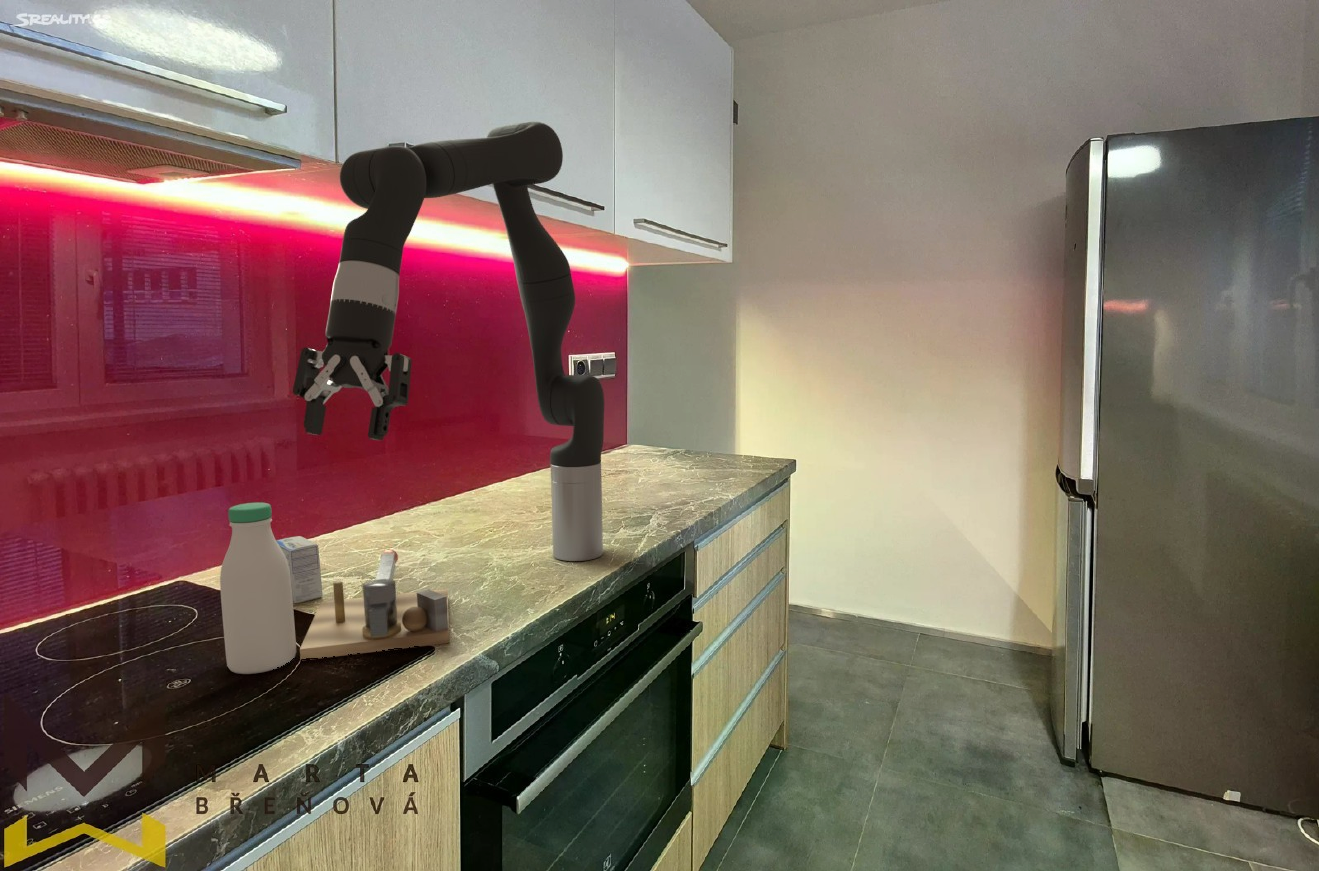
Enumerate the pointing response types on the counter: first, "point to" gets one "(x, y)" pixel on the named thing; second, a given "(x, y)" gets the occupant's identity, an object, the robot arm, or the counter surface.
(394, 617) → the lever
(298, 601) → the medicine box
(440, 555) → the counter surface
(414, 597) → the base
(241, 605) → the milk bottle
